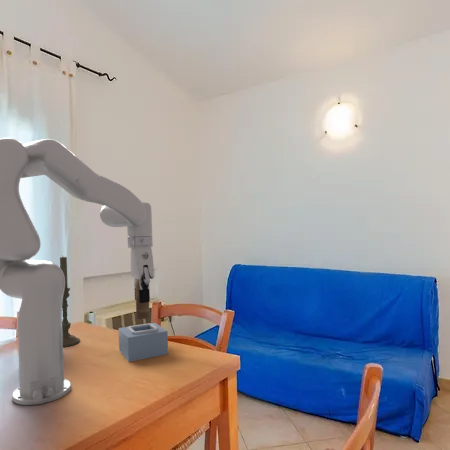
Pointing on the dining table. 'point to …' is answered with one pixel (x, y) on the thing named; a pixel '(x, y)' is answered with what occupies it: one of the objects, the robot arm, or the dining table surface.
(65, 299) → the candlestick holder
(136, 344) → the square peg hole block
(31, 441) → the dining table surface
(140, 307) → the walnut dowel
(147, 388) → the dining table surface
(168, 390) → the dining table surface
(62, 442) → the dining table surface
